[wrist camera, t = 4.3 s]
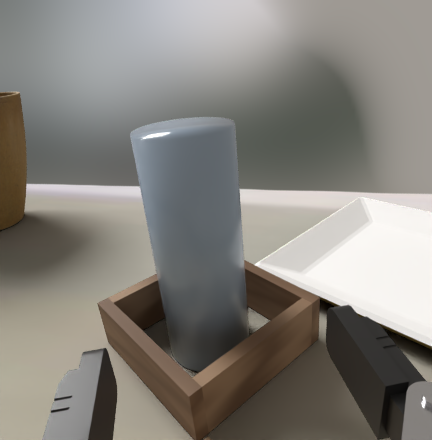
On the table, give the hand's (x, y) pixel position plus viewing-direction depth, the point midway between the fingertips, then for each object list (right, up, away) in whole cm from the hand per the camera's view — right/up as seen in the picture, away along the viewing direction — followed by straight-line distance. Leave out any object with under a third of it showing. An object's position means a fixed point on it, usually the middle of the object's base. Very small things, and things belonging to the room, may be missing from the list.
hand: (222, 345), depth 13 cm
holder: (-1, -4, +13) cm, 14 cm away
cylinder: (-1, -4, +13) cm, 14 cm away
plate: (+16, 0, +18) cm, 24 cm away
